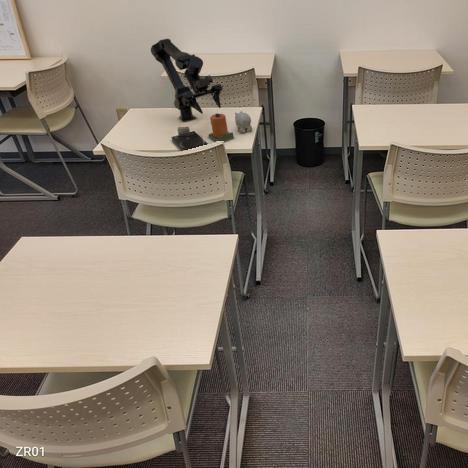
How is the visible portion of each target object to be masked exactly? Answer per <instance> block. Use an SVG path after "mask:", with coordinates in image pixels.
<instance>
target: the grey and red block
mask: <svg viewBox="0 0 468 468" xmlns="http://www.w3.org/2000/svg"><path fill="white" fill-rule="evenodd" d="M176 128H177V129H176V130H177V135H179V136H190V135H191V134H190V132H191V129H190V126H178V127H176Z"/></svg>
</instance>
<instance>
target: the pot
mask: <svg viewBox="0 0 468 468" xmlns="http://www.w3.org/2000/svg"><path fill="white" fill-rule="evenodd" d="M209 118H210V119H209V120H210V126H211V133H213V136H215V137H220V136H223V135H225V134H228V132H229V130H228V124H227V118H226V114H224V113H215V114H212V115H210V116H209Z"/></svg>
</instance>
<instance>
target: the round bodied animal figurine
mask: <svg viewBox="0 0 468 468" xmlns="http://www.w3.org/2000/svg"><path fill="white" fill-rule="evenodd" d="M234 115H235V116H234V119H235V120H234V122H235V126H236V127H237V131H238V132H239V133H240V134H245V133H246V131H247V132H252V131H253V127H252V125H251V124H252V118H251V116H250V115H249V114H248V113H247V112H243V111H240V112H236V111H235V112H234Z"/></svg>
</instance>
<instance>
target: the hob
mask: <svg viewBox="0 0 468 468" xmlns="http://www.w3.org/2000/svg"><path fill="white" fill-rule="evenodd" d="M190 134H191V135H190V136H179V134H177V135H174V136H171V142H173V143H174V145H176V147H177V148H178V149H179V150H180V151H181V152H182V151H183V150H188V149H186V148H182V147H181V146H180V143H181V142H182V141H184V140H186V139H189V138H201V139H203V137H202V136H200V135H199V134H198V133H197V131H195V130H193V131H190ZM203 140H204V141H205V143H204V144H203V145H207V144H209V143H208V142H207V141H206V140H205V139H203ZM203 145H202V146H203Z"/></svg>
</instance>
